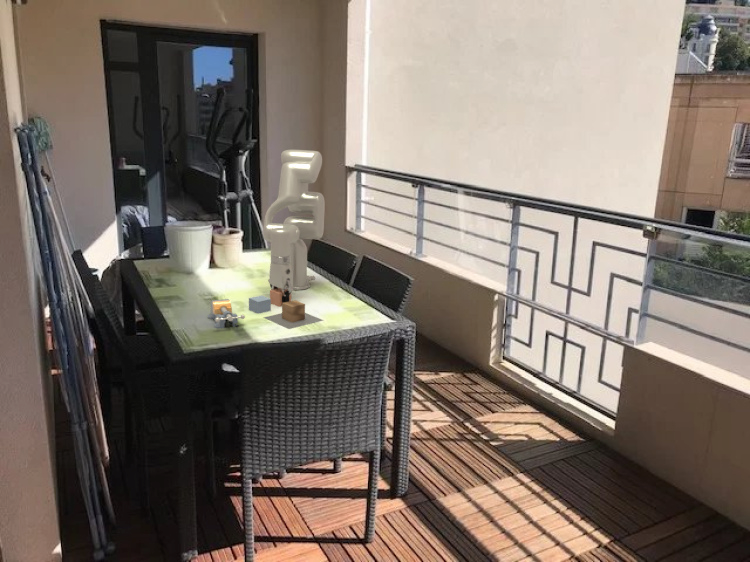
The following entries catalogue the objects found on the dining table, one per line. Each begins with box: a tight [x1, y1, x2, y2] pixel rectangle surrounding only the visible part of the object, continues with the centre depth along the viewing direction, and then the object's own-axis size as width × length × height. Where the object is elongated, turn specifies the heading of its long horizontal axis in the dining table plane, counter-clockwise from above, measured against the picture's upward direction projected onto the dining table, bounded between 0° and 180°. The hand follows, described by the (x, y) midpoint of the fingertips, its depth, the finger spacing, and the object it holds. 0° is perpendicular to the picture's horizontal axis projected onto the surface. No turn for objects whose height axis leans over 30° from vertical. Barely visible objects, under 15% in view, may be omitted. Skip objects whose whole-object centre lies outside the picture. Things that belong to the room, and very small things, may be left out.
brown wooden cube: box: [281, 299, 306, 322], centre depth 230 cm, size 6×6×6 cm
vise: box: [207, 298, 246, 329], centre depth 227 cm, size 18×10×7 cm, turn 26°
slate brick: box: [248, 295, 272, 314], centre depth 239 cm, size 6×6×6 cm
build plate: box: [263, 312, 324, 330], centre depth 231 cm, size 16×16×1 cm
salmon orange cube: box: [269, 288, 292, 308], centre depth 248 cm, size 6×6×6 cm
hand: (280, 302), depth 249 cm, fingers closed on salmon orange cube, 6 cm apart
